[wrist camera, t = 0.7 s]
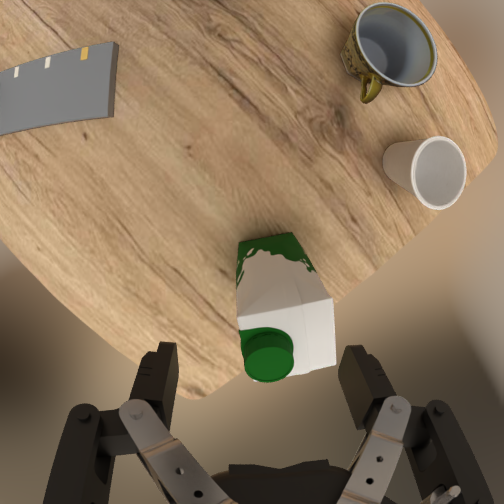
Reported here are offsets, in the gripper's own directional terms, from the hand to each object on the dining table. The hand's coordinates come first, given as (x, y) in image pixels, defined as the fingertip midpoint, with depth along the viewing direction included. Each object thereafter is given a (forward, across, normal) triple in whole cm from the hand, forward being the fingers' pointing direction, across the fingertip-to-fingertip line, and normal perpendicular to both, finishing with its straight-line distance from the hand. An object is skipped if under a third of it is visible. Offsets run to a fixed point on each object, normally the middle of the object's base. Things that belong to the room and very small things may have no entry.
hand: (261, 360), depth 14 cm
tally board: (+28, +30, -16) cm, 44 cm away
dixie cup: (+28, -21, -8) cm, 36 cm away
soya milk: (+27, -4, +7) cm, 29 cm away
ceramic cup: (+28, -14, -20) cm, 37 cm away
